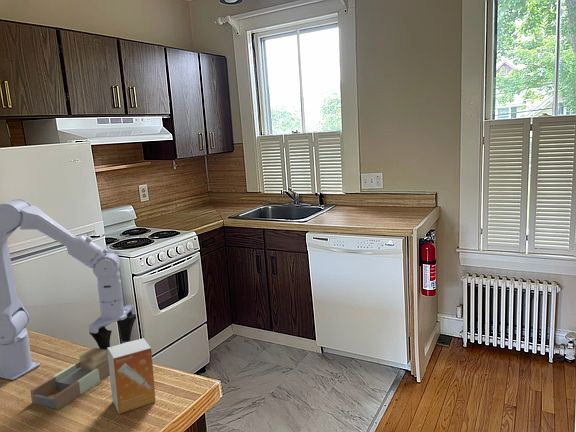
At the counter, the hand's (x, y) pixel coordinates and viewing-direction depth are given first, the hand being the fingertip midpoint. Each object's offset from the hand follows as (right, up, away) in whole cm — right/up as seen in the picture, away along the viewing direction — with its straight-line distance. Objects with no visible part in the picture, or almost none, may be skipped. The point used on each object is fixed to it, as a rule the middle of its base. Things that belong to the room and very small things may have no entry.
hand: (116, 347), depth 118 cm
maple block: (-3, -3, -7) cm, 8 cm away
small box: (+12, -7, -20) cm, 24 cm away
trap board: (-4, -5, -11) cm, 13 cm away
